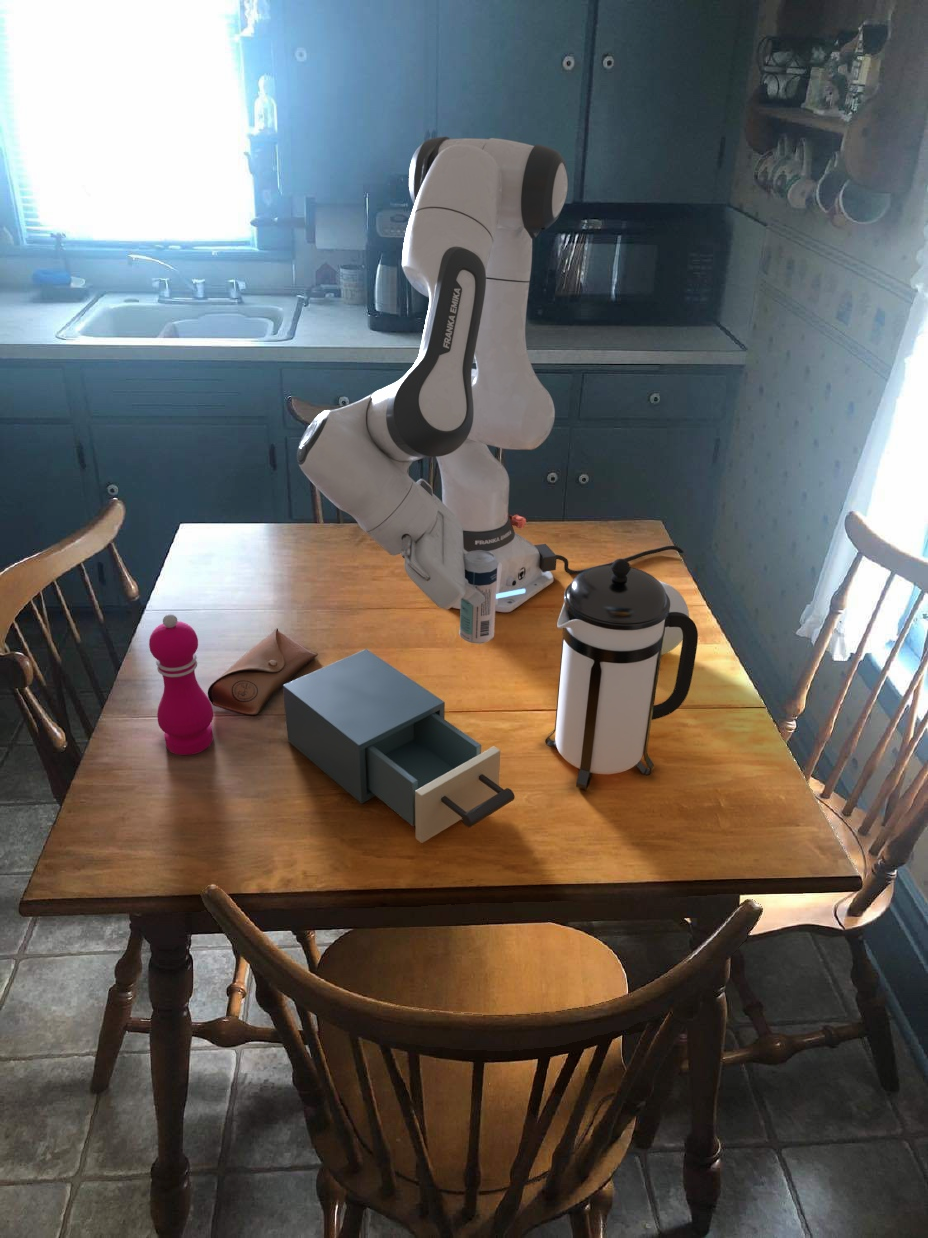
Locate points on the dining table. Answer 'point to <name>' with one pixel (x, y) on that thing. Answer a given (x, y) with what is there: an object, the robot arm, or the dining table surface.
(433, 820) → the drawer
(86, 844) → the dining table surface
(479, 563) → the beer can
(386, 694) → the cabinet
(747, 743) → the dining table surface
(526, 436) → the robot arm
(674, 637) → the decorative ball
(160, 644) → the pepper mill
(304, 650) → the sunglasses case
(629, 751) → the coffee press
